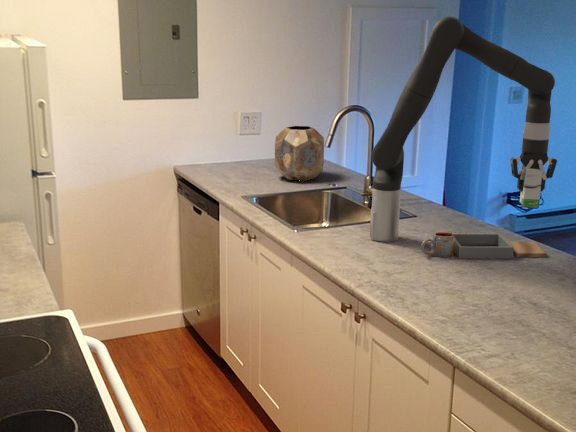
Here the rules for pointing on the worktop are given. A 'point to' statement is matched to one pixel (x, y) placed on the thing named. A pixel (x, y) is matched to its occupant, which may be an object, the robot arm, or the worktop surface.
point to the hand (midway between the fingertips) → (530, 190)
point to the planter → (299, 153)
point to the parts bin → (482, 252)
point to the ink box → (531, 188)
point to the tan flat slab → (527, 249)
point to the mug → (440, 245)
